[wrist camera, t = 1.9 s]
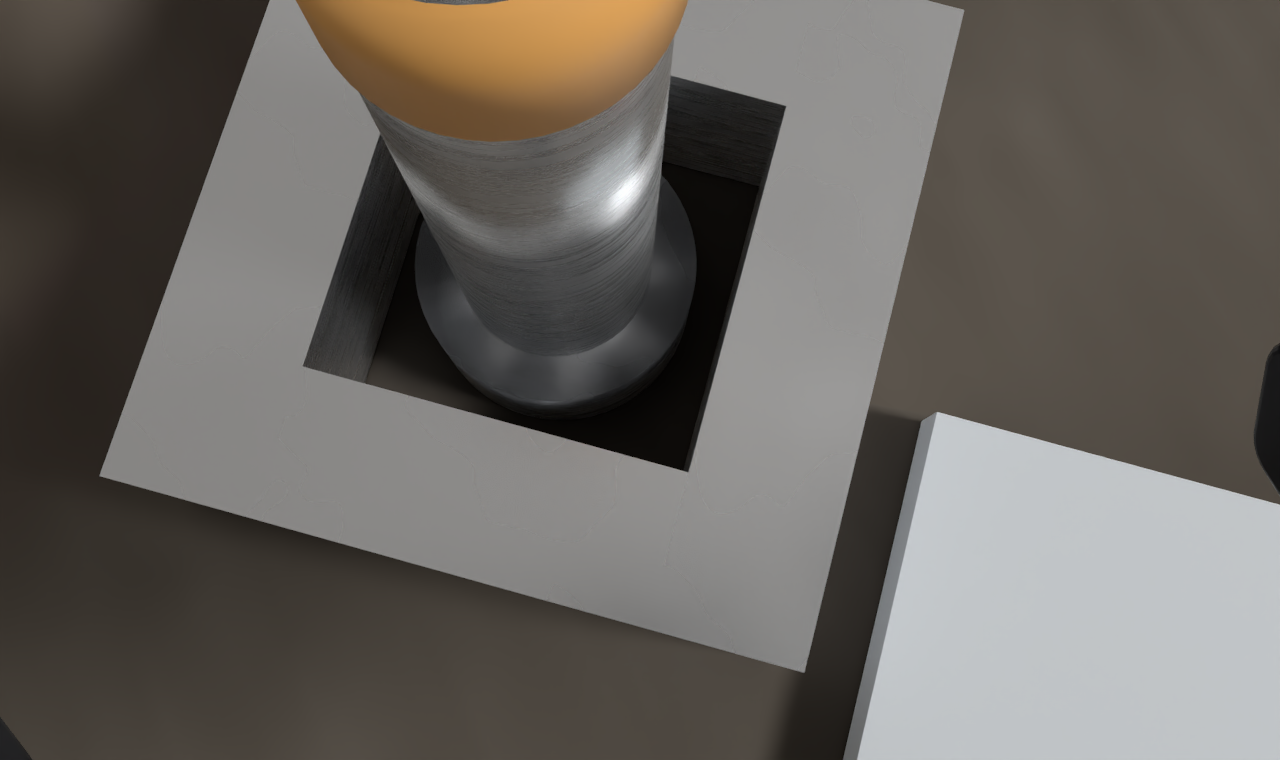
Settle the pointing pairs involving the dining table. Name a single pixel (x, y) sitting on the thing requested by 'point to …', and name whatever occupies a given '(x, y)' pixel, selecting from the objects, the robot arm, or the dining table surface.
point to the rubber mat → (1069, 611)
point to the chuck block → (521, 457)
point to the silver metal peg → (532, 185)
